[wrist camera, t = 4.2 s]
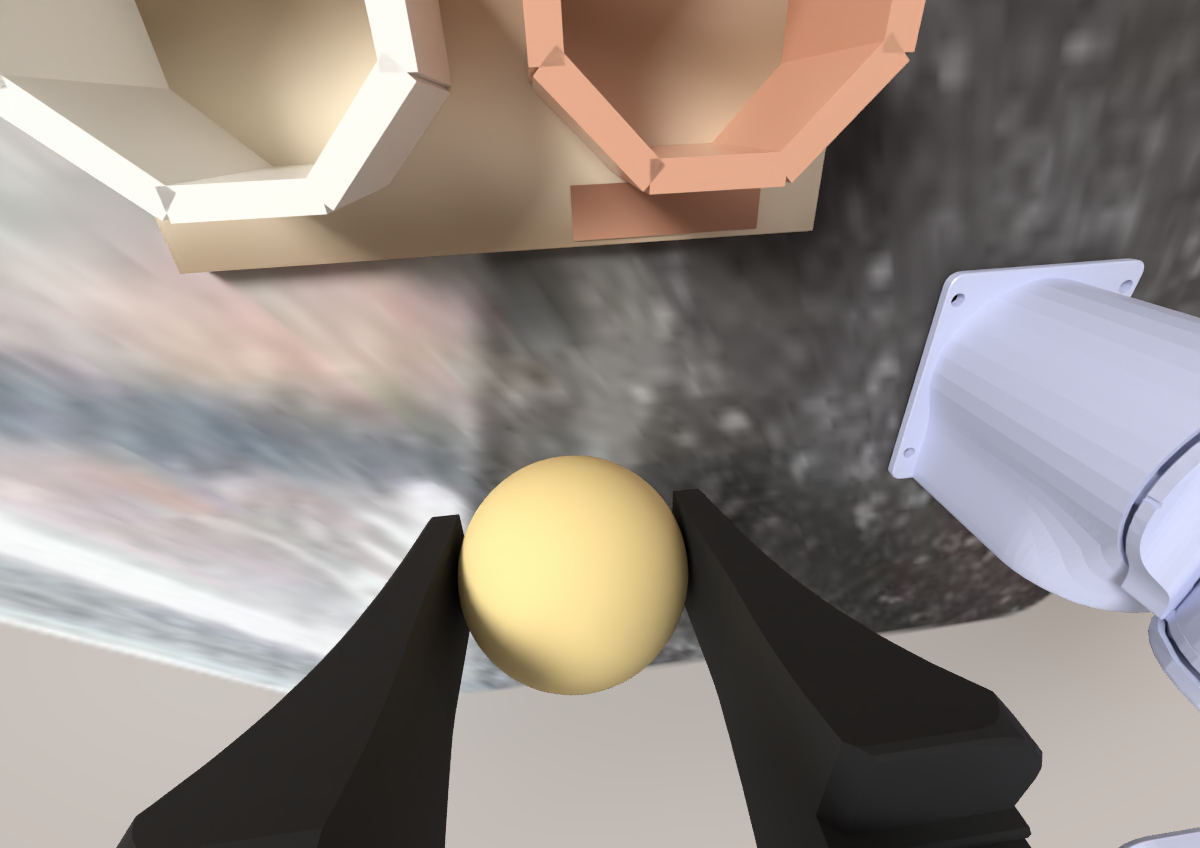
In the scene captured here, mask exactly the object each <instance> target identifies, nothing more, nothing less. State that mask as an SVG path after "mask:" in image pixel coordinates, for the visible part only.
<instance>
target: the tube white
mask: <svg viewBox="0 0 1200 848" xmlns="http://www.w3.org/2000/svg"><path fill="white" fill-rule="evenodd" d="M365 5H366V9H367V14H368V19H369V23H370V28H371V32H372V37H373V42H374V46H375V51H376V56H377V62H376V64H375V65H374V67H373V69H372V70H371V72H370V74H369V75H368V77H367V78H366V80H365V82H364V83H363V85H362V87H361V88H360V90H359V92H358V93H357V95H356V97H355V98H354V100H353V102H352V103H351V105H350V106H349V108H348V110H347V111H346V113H345V115H344V116H343V118H342V120H341V121H340V123H339V125H338V126H337V128H336V130H335V131H334V133H333V134H332V136H331V138H330V139H329V141H328V143H327V144H326V146H325V148H324V149H323V151H322V153H321V154H320V156H319V158H318V159H317V161H316V162H315V164H304V165H285V166H272V165H270V164H269V163H268V162H266V161H265V160H264V159H262V158H261V157H260V156H258V155H257V154H256V153H254V152H253V151H252V150H250V149H249V148H248V147H246V146H245V145H244V144H242V143H241V142H240V141H238V140H237V139H236V138H234V137H233V136H232V135H230V134H229V133H228V132H226V131H225V130H224V129H222V128H221V127H220V126H218V125H217V124H216V123H214V122H213V121H212V120H210V119H209V118H208V117H206V116H205V115H204V114H202V113H201V112H200V111H198V110H197V109H196V108H194V107H193V106H192V105H190V104H189V103H188V102H186V101H185V100H184V99H182V98H181V97H180V96H178V95H177V94H176V93H174V92H173V91H172V90H170V89H169V86H168V84H167V81H166V79H165V76H164V74H163V71H162V69H161V66H160V63H159V61H158V58H157V56H156V53H155V51H154V48H153V46H152V43H151V41H150V38H149V36H148V33H147V30H146V28H145V25H144V23H143V20H142V18H141V15H140V13H139V10H138V8H137V5H136V3H135V0H0V116H1V117H2V118H4V119H6V120H7V121H9V122H10V123H12V124H13V125H15V126H16V127H18V128H19V129H21V130H22V131H24V132H26V133H27V134H29V135H30V136H32V137H33V138H35V139H36V140H38V141H39V142H41V143H43V144H44V145H46V146H47V147H49V148H50V149H52V150H53V151H55V152H56V153H58V154H60V155H61V156H63V157H64V158H66V159H67V160H69V161H70V162H72V163H73V164H75V165H77V166H78V167H80V168H81V169H83V170H84V171H86V172H87V173H89V174H90V175H92V176H93V177H95V178H97V179H98V180H100V181H101V182H103V183H104V184H106V185H107V186H109V187H110V188H112V189H114V190H115V191H117V192H118V193H120V194H121V195H123V196H124V197H126V198H127V199H129V200H131V201H132V202H134V203H135V204H137V205H138V206H140V207H141V208H143V209H144V210H146V211H148V212H149V213H151V214H152V215H154V216H155V217H157V218H158V219H160V220H161V221H164V220H168V219H169V220H170V222H171V224H175V223H192V222H208V221H224V220H241V219H257V218H274V217H290V216H307V215H323V214H329V213H331V212H333V211H335V210H337V209H339V208H341V207H344V206H346V205H348V204H350V203H352V202H354V201H356V200H358V199H360V198H363V197H365V196H367V195H369V194H371V193H373V192H375V191H377V190H380V189H382V188H384V187H385V186H387V185H389V184H390V182H391V181H392V179H393V178H394V176H395V175H396V173H397V172H398V170H399V169H400V167H401V166H402V164H403V163H404V161H405V160H406V158H407V157H408V155H409V154H410V153H411V151H412V150H413V148H414V147H415V145H416V144H417V142H418V141H419V139H420V138H421V136H422V135H423V133H424V132H425V130H426V129H427V127H428V126H429V124H430V123H431V121H432V120H433V118H434V117H435V115H436V114H437V112H438V111H439V109H440V108H441V106H442V105H443V103H444V102H445V100H446V99H447V97H448V96H449V94H450V93H451V92H450V91H448V90H447V89H446V88H445V87H444V86H452V84H451V77H450V71H449V65H448V58H447V52H446V46H445V39H444V33H443V27H442V20H441V14H440V8H439V1H438V0H365Z"/></svg>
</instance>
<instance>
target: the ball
mask: <svg viewBox="0 0 1200 848" xmlns="http://www.w3.org/2000/svg"><path fill="white" fill-rule="evenodd" d="M687 586H688V561H687V553H686V548H685V544H684V540H683V536H682V533H681V531H680V528H679V526H678V524H677V521H676V519H675V517H674V515H673V513H672V512H671V510H670V509H669V507H668V505H667V504H666V503H665V501H664V500H663V499H662V497H661V496H660V495H659V494H658V493H657V492H656V490H655V489H654V488H653V487H651V486H650V485H649V484H648V483H647V482H646V481H644V480H643V479H642V478H641V477H640V476H638V475H637V474H635V473H633V472H632V471H630V470H628V469H627V468H625V467H623V466H620V465H618V464H616V463H614V462H611V461H608V460H604V459H601V458H595V457H590V456H561V457H554V458H549V459H546V460H542V461H538V462H536V463H533V464H531V465H528V466H526V467H524V468H522V469H520V470H518V471H516V472H515V473H513V474H512V475H511V476H509V477H508V478H506V479H505V480H504V481H502V482H501V483H500V484H499V485H498V486H497V487H496V488H495V489H494V490H492V491H491V493H490V494H489V495H488V496H487V497H486V499H485V500H484V501H483V502H482V504H481V505H480V506H479V508H478V509H477V511H476V513H475V514H474V516H473V518H472V520H471V522H470V524H469V526H468V528H467V531H466V533H465V536H464V539H463V543H462V547H461V551H460V556H459V562H458V591H459V598H460V604H461V608H462V611H463V614H464V618H465V620H466V623H467V626H468V628H469V630H470V632H471V634H472V635H473V637H474V639H475V641H476V642H477V644H478V646H479V647H480V648H481V649H482V651H483V652H484V653H485V654H486V656H487V657H488V658H489V659H490V660H491V662H493V663H494V664H495V665H496V666H497V667H498V668H500V669H501V670H502V671H503V672H504V673H506V674H507V675H508V676H510V677H511V678H513V679H514V680H516V681H518V682H520V683H523V684H525V685H527V686H529V687H531V688H534V689H537V690H539V691H543V692H547V693H554V694H561V695H583V694H590V693H595V692H599V691H603V690H606V689H609V688H611V687H614V686H616V685H618V684H620V683H623V682H625V681H627V680H628V679H630V678H632V677H633V676H635V675H636V674H638V673H639V672H640V671H641V670H643V669H644V668H645V667H646V666H647V665H648V664H650V663H651V662H652V661H653V660H654V659H655V658H656V657H657V656H658V654H659V653H660V652H661V650H662V649H663V648H664V646H665V645H666V644H667V642H668V641H669V639H670V638H671V636H672V634H673V632H674V630H675V628H676V626H677V624H678V622H679V620H680V617H681V614H682V611H683V607H684V603H685V600H686V594H687Z"/></svg>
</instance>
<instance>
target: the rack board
mask: <svg viewBox="0 0 1200 848" xmlns="http://www.w3.org/2000/svg"><path fill="white" fill-rule="evenodd" d="M438 1H439V8H440V14H441V20H442V27H443V33H444V39H445V46H446V52H447V58H448V65H449V71H450V77H451V84H452V86H444V87H445V88H446V89H447V90H448V91H450V92H451V93H450V94H449V96H448V97H447V99H446V100H445V102H444V103H443V105H442V106H441V108H440V109H439V111H438V112H437V114H436V115H435V117H434V118H433V120H432V121H431V123H430V124H429V126H428V127H427V129H426V130H425V132H424V133H423V135H422V136H421V138H420V139H419V141H418V142H417V144H416V145H415V147H414V148H413V150H412V151H411V153H410V154H409V155H408V157H407V158H406V160H405V161H404V163H403V164H402V166H401V167H400V169H399V170H398V172H397V173H396V175H395V176H394V178H393V179H392V181H391V182H390V184H389V185H387V186H385V187H384V188H382V189H380V190H377V191H375V192H373V193H371V194H369V195H367V196H365V197H363V198H360V199H358V200H356V201H354V202H352V203H350V204H348V205H346V206H344V207H341V208H339V209H337V210H335V211H333V212H331V213H329V214H323V215H307V216H290V217H274V218H257V219H241V220H224V221H208V222H192V223H175V224H171V222H170V220H169V219H168V220H164V221H161V220H160V219H158V218H157V217H155V216H154V217H155V219H156V221H157V223H158V226H159V228H160V230H161V232H162V234H163V237H164V239H165V241H166V243H167V245H168V248H169V250H170V252H171V254H172V256H173V259H174V261H175V263H176V265H177V267H178V269H179V272H180V274H183V273H198V272H213V271H227V270H242V269H257V268H271V267H286V266H301V265H315V264H330V263H345V262H359V261H374V260H389V259H403V258H418V257H433V256H447V255H462V254H477V253H491V252H506V251H521V250H535V249H550V248H564V247H579V246H594V245H608V244H623V243H638V242H652V241H667V240H682V239H696V238H711V237H726V236H740V235H755V234H770V233H784V232H799V231H813V224H814V218H815V212H816V206H817V200H818V194H819V187H820V181H821V175H822V169H823V163H824V156H825V150H826V148H825V149H824V150H823V151H822V152H821V153H820V154H819V155H818V156H817V157H816V158H815V159H814V160H813V161H812V162H811V164H810V165H809V166H808V167H807V168H806V169H805V170H804V171H803V172H802V173H801V174H800V175H799V176H798V177H797V178H796V179H795V180H794V181H793V182H792V183H790V182H786V183H785V186H783V187H766V188H750V189H733V190H717V191H701V192H684V193H668V194H651V195H650V194H648V193H647V192H645V191H644V192H642V191H641V190H639V189H638V188H636V187H635V186H633V185H632V184H630V183H629V182H627V181H625V180H624V179H622V178H621V177H619V176H618V175H616V174H615V173H613V172H612V171H611V170H610V169H609V168H608V167H607V166H606V165H605V164H604V163H603V162H602V161H601V160H600V159H599V158H598V157H597V156H596V155H595V154H594V153H593V152H592V151H591V150H590V149H589V147H588V146H587V145H586V144H585V143H584V142H583V141H582V140H581V139H580V138H579V137H578V136H577V135H576V134H575V133H574V132H573V131H572V130H571V129H570V128H569V127H568V126H567V125H566V124H565V123H564V122H563V121H562V120H561V119H560V118H559V117H558V116H557V114H556V113H555V112H554V111H553V110H552V109H551V108H550V107H549V106H548V105H547V104H546V103H545V102H544V101H543V100H542V99H541V98H540V97H539V96H538V95H537V94H536V93H535V92H534V91H533V90H532V83H529V77H528V66H527V56H526V45H525V34H524V24H523V13H522V2H521V0H438ZM788 1H789V0H561V13H562V29H563V45H564V54H565V55H566V56H567V57H568V58H569V59H570V60H571V61H572V63H573V64H574V65H575V66H576V67H577V68H578V69H579V70H580V71H581V72H582V74H583V75H584V76H585V77H586V78H587V79H588V80H589V81H590V82H591V84H592V85H593V86H594V87H595V88H596V89H597V90H598V91H599V92H600V93H601V95H602V96H603V97H604V98H605V99H606V100H607V101H608V102H609V103H610V105H611V106H612V107H613V108H614V109H615V110H616V111H617V112H618V113H619V114H620V116H621V117H622V118H623V119H624V120H625V121H626V122H627V123H628V124H629V126H630V127H631V128H632V129H633V130H634V131H635V132H636V133H637V134H638V135H639V137H640V138H641V139H642V140H643V141H644V142H645V143H646V144H647V145H648V146H660V145H679V144H697V143H712V142H713V141H714V140H715V138H716V137H717V136H718V135H719V134H720V133H721V132H722V130H723V129H724V128H725V127H726V126H727V125H728V124H729V122H730V121H731V120H732V119H733V118H734V117H735V116H736V114H737V113H738V112H739V111H740V110H741V109H742V108H743V107H744V105H745V104H746V103H747V102H748V101H749V100H750V99H751V97H752V96H753V95H754V94H755V93H756V92H757V91H758V89H759V88H760V87H761V86H762V85H763V84H764V83H765V81H766V80H767V79H768V78H769V77H770V76H771V75H772V74H773V72H774V71H775V70H776V69H777V68H778V67H779V66H780V64H781V62H782V53H783V45H784V36H785V27H786V18H787V10H788ZM135 3H136V5H137V8H138V10H139V13H140V15H141V18H142V20H143V23H144V25H145V28H146V30H147V33H148V36H149V38H150V41H151V43H152V46H153V48H154V51H155V53H156V56H157V58H158V61H159V63H160V66H161V69H162V71H163V74H164V76H165V79H166V81H167V84H168V86H169V89H170V90H172V91H173V92H174V93H176V94H177V95H178V96H180V97H181V98H182V99H184V100H185V101H186V102H188V103H189V104H190V105H192V106H193V107H194V108H196V109H197V110H198V111H200V112H201V113H202V114H204V115H205V116H206V117H208V118H209V119H210V120H212V121H213V122H214V123H216V124H217V125H218V126H220V127H221V128H222V129H224V130H225V131H226V132H228V133H229V134H230V135H232V136H233V137H234V138H236V139H237V140H238V141H240V142H241V143H242V144H244V145H245V146H246V147H248V148H249V149H250V150H252V151H253V152H254V153H256V154H257V155H258V156H260V157H261V158H262V159H264V160H265V161H266V162H268V163H269V164H270V165H272V166H285V165H304V164H315V162H316V161H317V159H318V158H319V156H320V154H321V153H322V151H323V149H324V148H325V146H326V144H327V143H328V141H329V139H330V138H331V136H332V134H333V133H334V131H335V130H336V128H337V126H338V125H339V123H340V121H341V120H342V118H343V116H344V115H345V113H346V111H347V110H348V108H349V106H350V105H351V103H352V102H353V100H354V98H355V97H356V95H357V93H358V92H359V90H360V88H361V87H362V85H363V83H364V82H365V80H366V78H367V77H368V75H369V74H370V72H371V70H372V69H373V67H374V65H375V64H376V62H377V56H376V51H375V46H374V42H373V37H372V32H371V28H370V23H369V19H368V14H367V9H366V5H365V0H135Z"/></svg>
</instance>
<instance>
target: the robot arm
mask: <svg viewBox="0 0 1200 848" xmlns="http://www.w3.org/2000/svg"><path fill="white" fill-rule="evenodd" d="M1143 270H1144V263H1143V262H1142V261H1140V260H1135V259H1130V258H1128V259H1114V260H1101V261H1088V262H1075V263H1062V264H1049V265H1036V266H1023V267H1010V268H997V269H984V270H971V271H959V272H956V273H954V274H952V275H950V276H949V277H948V279H947V280H946V281H945V283H944V285H943V288H942V292H941V295H940V298H939V302H938V305H937V308H936V312H935V315H934V318H933V322H932V325H931V328H930V331H929V335H928V338H927V341H926V345H925V348H924V351H923V355H922V358H921V361H920V365H919V368H918V371H917V375H916V378H915V381H914V385H913V388H912V391H911V394H910V398H909V401H908V404H907V408H906V411H905V414H904V418H903V421H902V424H901V428H900V431H899V434H898V438H897V441H896V444H895V448H894V451H893V454H892V457H891V461H890V464H889V468H888V471H889V473H890V474H891V475H892V476H893V477H895V478H897V479H901V478H911V477H913V478H914V479H915V480H916V481H917V482H918V483H919V484H920V485H921V486H922V487H923V488H924V489H925V490H927V491H928V492H929V493H930V494H931V495H932V496H933V497H934V498H935V499H936V500H937V501H938V502H939V503H940V504H941V505H943V506H944V507H945V508H946V509H947V510H948V511H949V512H950V513H951V514H952V515H953V516H954V517H955V518H956V519H958V520H959V521H960V522H961V523H962V524H963V525H964V526H965V527H966V528H967V529H968V530H969V531H970V532H971V533H972V534H974V535H975V536H976V537H977V538H978V539H979V540H980V541H981V542H982V543H983V544H984V545H985V546H986V547H987V548H988V549H990V550H991V551H992V552H993V553H994V554H995V555H996V556H997V557H998V558H999V559H1000V560H1001V561H1002V562H1004V563H1005V564H1006V565H1007V566H1009V567H1010V568H1011V569H1012V570H1014V571H1015V572H1017V573H1018V574H1020V575H1021V576H1022V577H1024V578H1026V579H1027V580H1029V581H1031V582H1032V583H1034V584H1036V585H1038V586H1040V587H1042V588H1043V589H1045V590H1047V591H1049V592H1052V593H1054V594H1056V595H1058V596H1060V597H1063V598H1065V599H1068V600H1070V601H1073V602H1075V603H1078V604H1082V605H1085V606H1089V607H1093V608H1098V609H1102V610H1109V611H1116V612H1127V613H1140V612H1150V611H1151V612H1152V613H1153V614H1155V615H1154V616H1153V618H1152V619H1151V623H1150V626H1149V630H1148V632H1149V642H1150V645H1151V648H1152V650H1153V653H1154V656H1155V657H1156V659H1157V660H1158V662H1159V664H1160V665H1161V667H1162V669H1163V670H1164V672H1165V673H1166V674H1167V676H1168V677H1169V678H1170V680H1171V681H1172V682H1173V683H1174V685H1175V686H1176V687H1177V688H1178V690H1179V691H1180V692H1181V693H1182V694H1183V695H1184V696H1185V697H1186V698H1187V699H1188V700H1189V701H1190V702H1191V703H1192V704H1193V705H1194V706H1195V707H1196V708H1197V709H1198V710H1199V711H1200V318H1198V317H1195V316H1192V315H1188V314H1185V313H1182V312H1178V311H1175V310H1171V309H1168V308H1165V307H1161V306H1158V305H1155V304H1151V303H1148V302H1145V301H1141V300H1138V299H1134V298H1131V295H1132V293H1133V291H1134V289H1135V287H1136V285H1137V283H1138V281H1139V279H1140V277H1141V275H1142V273H1143ZM955 295H957V298H956V300H955V301H954V302H952V303H951V301H952V299H953V297H954V296H955ZM906 449H908V450H907V451H905V450H906ZM904 451H905V452H904ZM672 513H673V515H674V517H675V519H676V521H677V524H678V526H679V528H680V531H681V533H682V536H683V540H684V544H685V548H686V553H687V561H688V586H687V594H686V600H685V603H684V604H685V607H686V610H687V612H688V615H689V618H690V620H691V623H692V626H693V628H694V631H695V634H696V636H697V639H698V642H699V644H700V647H701V650H702V652H703V655H704V657H705V660H706V663H707V665H708V668H709V670H710V673H711V676H712V679H713V682H714V685H715V688H716V691H717V694H718V697H719V700H720V704H721V708H722V711H723V715H724V719H725V722H726V726H727V729H728V733H729V737H730V741H731V744H732V748H733V752H734V756H735V760H736V764H737V768H738V771H739V775H740V779H741V783H742V786H743V790H744V795H745V799H746V803H747V807H748V811H749V815H750V820H751V824H752V828H753V831H754V836H755V840H756V844H757V848H1031V847H1030V845H1029V844H1028V842H1027V841H1026V839H1025V838H1028V837H1029V836H1030V835H1031V832H1030V828H1029V826H1028V825H1027V823H1026V822H1025V820H1024V819H1023V817H1022V816H1021V815H1020V813H1019V812H1018V810H1017V809H1016V808H1015V804H1016V803H1017V802H1018V801H1019V799H1020V798H1021V797H1022V795H1023V794H1024V793H1025V791H1026V790H1027V789H1028V788H1029V786H1030V785H1031V784H1032V783H1033V781H1034V780H1035V779H1036V777H1037V775H1038V773H1039V771H1040V770H1041V767H1042V751H1041V750H1040V748H1039V747H1038V746H1037V744H1036V743H1035V742H1034V740H1033V739H1032V738H1031V737H1030V735H1029V734H1028V733H1027V732H1026V730H1025V729H1024V728H1023V726H1022V725H1021V724H1020V723H1019V721H1018V720H1017V719H1016V718H1015V716H1014V715H1013V714H1012V713H1011V711H1010V710H1009V709H1008V708H1007V707H1006V706H1005V705H1004V703H1003V702H1002V701H1001V700H1000V699H999V698H998V697H997V696H996V695H995V694H994V692H993V691H991V690H988V689H986V688H984V687H982V686H980V685H978V684H975V683H973V682H971V681H969V680H967V679H965V678H963V677H960V676H958V675H956V674H954V673H952V672H949V671H947V670H945V669H943V668H941V667H939V666H937V665H934V664H932V663H930V662H928V661H926V660H925V659H923V658H921V657H919V656H917V655H915V654H913V653H911V652H909V651H907V650H906V649H904V648H902V647H900V646H898V645H896V644H894V643H892V642H891V641H889V640H887V639H885V638H884V637H882V636H880V635H878V634H877V633H875V632H873V631H871V630H870V629H868V628H867V627H865V626H863V625H862V624H860V623H858V622H857V621H855V620H854V619H852V618H850V617H849V616H847V615H845V614H844V613H842V612H841V611H839V610H838V609H836V608H835V607H833V606H832V605H830V604H829V603H827V602H826V601H824V600H823V599H821V598H820V597H819V596H817V595H816V594H814V593H813V592H812V591H810V590H809V589H807V588H806V587H805V586H803V585H802V584H801V583H799V582H798V581H797V580H795V579H794V578H793V577H792V576H790V575H789V574H788V573H787V572H786V571H784V570H783V569H782V568H781V567H780V566H778V565H777V564H776V563H775V562H774V561H772V560H771V559H770V558H769V557H768V556H767V555H765V554H764V553H763V552H762V551H761V550H760V549H759V548H758V547H757V546H756V545H754V544H753V543H752V542H751V541H750V540H749V539H748V538H747V537H746V536H745V535H744V534H743V533H742V532H741V531H740V530H738V529H737V528H736V527H735V526H734V525H733V524H732V523H731V522H730V521H729V520H728V519H727V518H726V517H725V516H724V515H723V514H722V513H721V511H720V510H719V509H718V508H717V507H716V506H715V505H714V504H713V503H712V502H711V501H710V500H709V499H708V498H707V497H706V496H705V495H704V494H703V493H702V492H701V491H700V490H699V489H692V490H683V491H673V510H672ZM463 539H464V533H463V529H462V525H461V520H460V516H459V514H458V515H449V516H439V517H432V518H431V519H430V521H429V522H428V523H427V525H426V526H425V528H424V529H423V531H422V532H421V534H420V536H419V537H418V539H417V540H416V542H415V543H414V545H413V546H412V548H411V549H410V551H409V552H408V554H407V555H406V556H405V558H404V559H403V561H402V562H401V564H400V565H399V567H398V568H397V569H396V571H395V572H394V573H393V575H392V576H391V578H390V579H389V580H388V582H387V583H386V585H385V586H384V587H383V589H382V590H381V591H380V593H379V594H378V595H377V596H376V598H375V599H374V600H373V601H372V603H371V604H370V605H369V606H368V608H367V609H366V610H365V611H364V613H363V614H362V615H361V616H360V618H359V619H358V620H357V621H356V623H355V624H354V625H353V626H352V627H351V628H350V630H349V631H348V632H347V633H346V634H345V635H344V637H343V638H342V639H341V640H340V641H339V642H338V643H337V644H336V646H335V647H334V648H333V649H332V650H331V651H330V652H329V653H328V654H327V655H326V656H325V657H324V658H323V659H322V661H321V662H320V663H319V664H318V665H317V666H316V667H315V668H314V669H313V670H312V671H311V672H310V673H309V674H308V675H307V676H306V677H305V678H304V679H303V680H302V681H301V682H300V683H299V684H297V685H296V686H295V687H294V688H293V689H292V690H291V691H290V692H289V693H288V694H287V695H286V696H285V697H284V698H283V699H282V700H281V701H280V702H279V703H277V704H276V705H275V706H274V707H273V708H272V709H271V710H270V711H269V712H268V713H266V714H265V715H264V716H263V717H262V718H261V719H260V720H258V721H257V722H256V723H255V724H254V725H253V726H251V728H249V729H248V730H247V731H246V732H245V733H243V734H242V735H241V736H240V737H239V738H237V739H236V740H235V741H234V742H233V743H231V744H230V745H229V746H228V747H226V748H225V749H224V750H223V751H222V752H220V753H219V754H218V755H217V756H215V757H214V758H213V759H212V760H210V761H209V762H208V763H207V764H205V765H204V766H203V767H201V768H200V769H199V770H197V771H196V772H195V773H194V774H192V775H191V776H189V777H188V778H187V779H185V780H184V781H183V782H182V783H180V784H179V785H178V786H176V787H175V788H174V789H172V790H171V791H170V792H168V793H167V794H166V795H164V796H163V797H162V798H160V799H159V800H158V801H157V802H155V803H154V804H152V805H151V806H150V807H148V808H147V809H146V810H144V811H143V812H141V813H140V814H138V815H137V816H136V817H135V819H134V820H133V822H132V823H131V825H130V827H129V828H128V830H127V831H126V833H125V835H124V836H123V838H122V839H121V841H120V843H119V844H118V846H117V848H445V834H446V818H447V801H448V788H449V774H450V760H451V748H452V736H453V728H454V720H455V713H456V707H457V701H458V695H459V690H460V684H461V678H462V672H463V667H464V661H465V655H466V649H467V644H468V638H469V632H470V630H469V628H468V626H467V623H466V620H465V618H464V614H463V611H462V608H461V604H460V598H459V591H458V562H459V556H460V551H461V547H462V543H463ZM1119 848H1200V828H1193V829H1188V830H1181V831H1176V832H1170V833H1164V834H1158V835H1152V836H1147V837H1143V838H1139V839H1135V840H1133V841H1130V842H1128V843H1126V844H1124V845H1122V846H1121V847H1119Z"/></svg>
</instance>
